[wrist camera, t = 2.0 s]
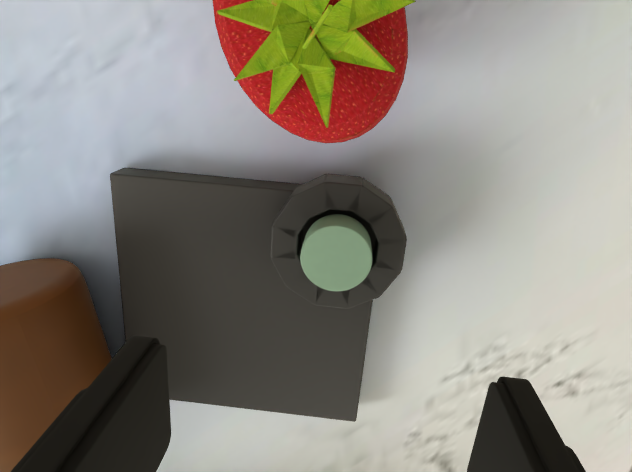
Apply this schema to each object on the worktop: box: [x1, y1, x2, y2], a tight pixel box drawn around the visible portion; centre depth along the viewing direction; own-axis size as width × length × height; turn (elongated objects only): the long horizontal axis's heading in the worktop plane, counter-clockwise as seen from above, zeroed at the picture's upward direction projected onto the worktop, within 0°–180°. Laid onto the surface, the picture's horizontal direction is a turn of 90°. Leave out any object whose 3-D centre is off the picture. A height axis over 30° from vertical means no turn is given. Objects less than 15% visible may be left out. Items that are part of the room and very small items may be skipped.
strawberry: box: [213, 0, 416, 143], centre depth 15 cm, size 6×8×10 cm
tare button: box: [300, 214, 372, 291], centre depth 19 cm, size 3×3×2 cm
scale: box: [110, 168, 407, 422], centre depth 23 cm, size 14×14×3 cm
